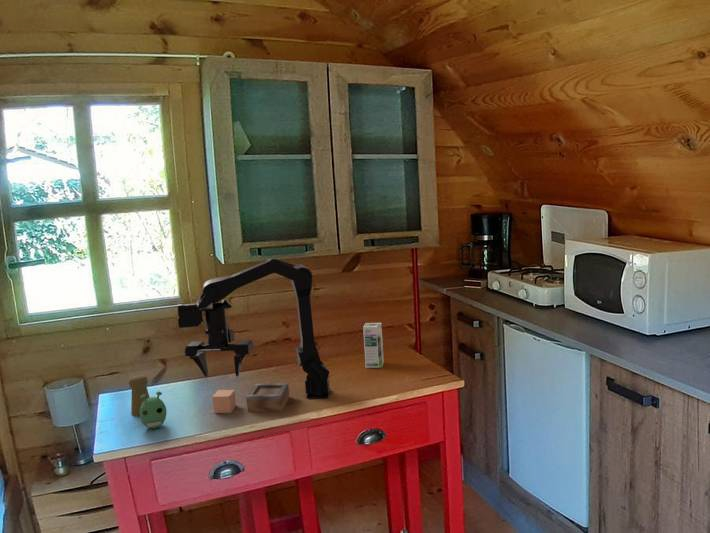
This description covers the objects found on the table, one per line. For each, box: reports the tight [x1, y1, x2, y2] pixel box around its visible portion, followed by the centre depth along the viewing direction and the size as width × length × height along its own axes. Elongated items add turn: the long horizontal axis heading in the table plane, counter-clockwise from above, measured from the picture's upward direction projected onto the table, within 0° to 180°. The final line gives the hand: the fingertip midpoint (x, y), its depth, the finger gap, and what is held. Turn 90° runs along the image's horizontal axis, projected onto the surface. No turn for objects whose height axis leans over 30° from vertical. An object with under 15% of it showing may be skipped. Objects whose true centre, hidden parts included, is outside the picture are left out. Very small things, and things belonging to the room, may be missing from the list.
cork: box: [128, 374, 151, 417], centre depth 175 cm, size 6×6×11 cm
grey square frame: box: [245, 382, 290, 412], centre depth 175 cm, size 10×10×5 cm
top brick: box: [212, 389, 237, 414], centre depth 174 cm, size 5×5×5 cm
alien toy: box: [139, 391, 168, 429], centre depth 163 cm, size 7×8×10 cm
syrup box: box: [362, 322, 385, 369], centre depth 202 cm, size 6×6×14 cm
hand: (222, 376), depth 172 cm, fingers open, 9 cm apart
